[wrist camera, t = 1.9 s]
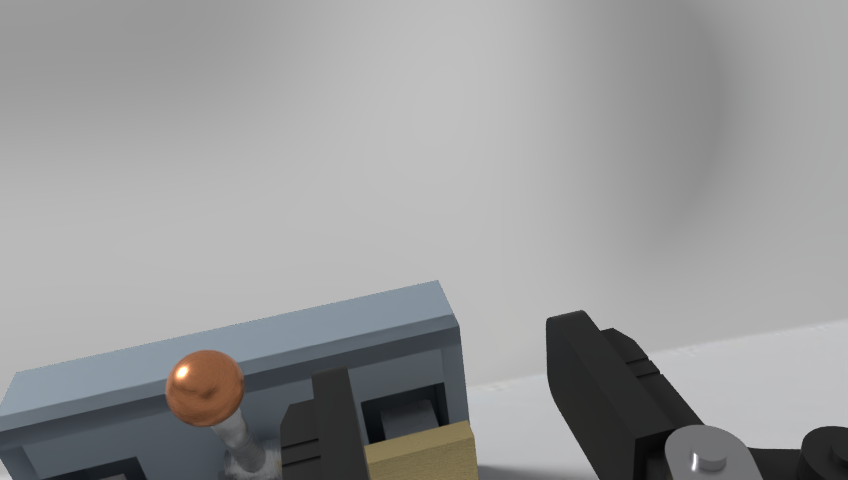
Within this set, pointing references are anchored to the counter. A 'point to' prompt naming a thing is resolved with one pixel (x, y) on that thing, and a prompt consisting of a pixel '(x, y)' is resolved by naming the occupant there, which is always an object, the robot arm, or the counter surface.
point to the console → (264, 388)
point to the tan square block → (422, 447)
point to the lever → (222, 413)
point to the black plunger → (115, 477)
